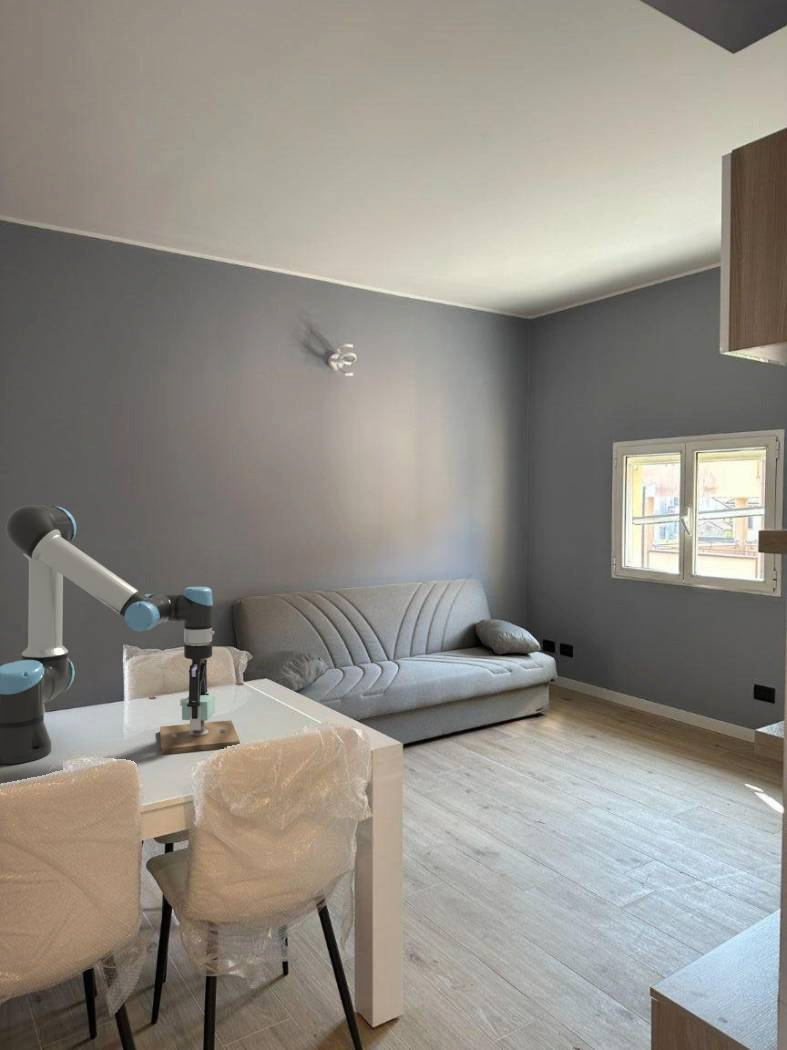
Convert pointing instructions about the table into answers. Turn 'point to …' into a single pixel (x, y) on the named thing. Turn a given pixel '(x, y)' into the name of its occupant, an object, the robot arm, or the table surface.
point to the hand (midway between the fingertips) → (198, 725)
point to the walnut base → (197, 737)
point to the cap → (206, 707)
